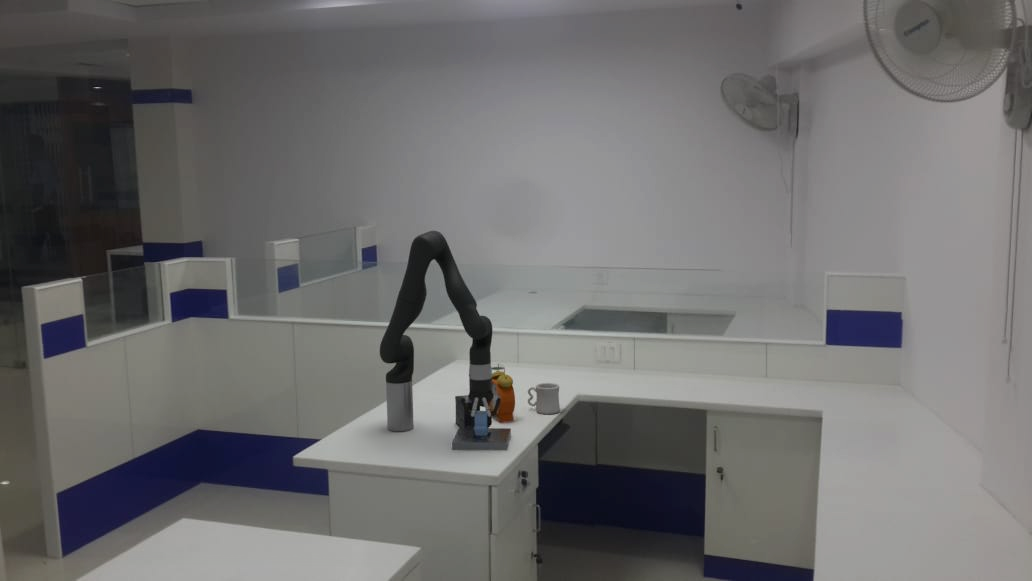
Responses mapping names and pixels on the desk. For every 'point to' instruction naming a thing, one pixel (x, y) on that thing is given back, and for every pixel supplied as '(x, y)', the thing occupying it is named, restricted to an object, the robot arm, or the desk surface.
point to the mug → (546, 398)
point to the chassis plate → (481, 439)
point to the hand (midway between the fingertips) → (481, 426)
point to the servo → (481, 423)
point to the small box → (463, 413)
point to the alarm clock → (503, 396)
